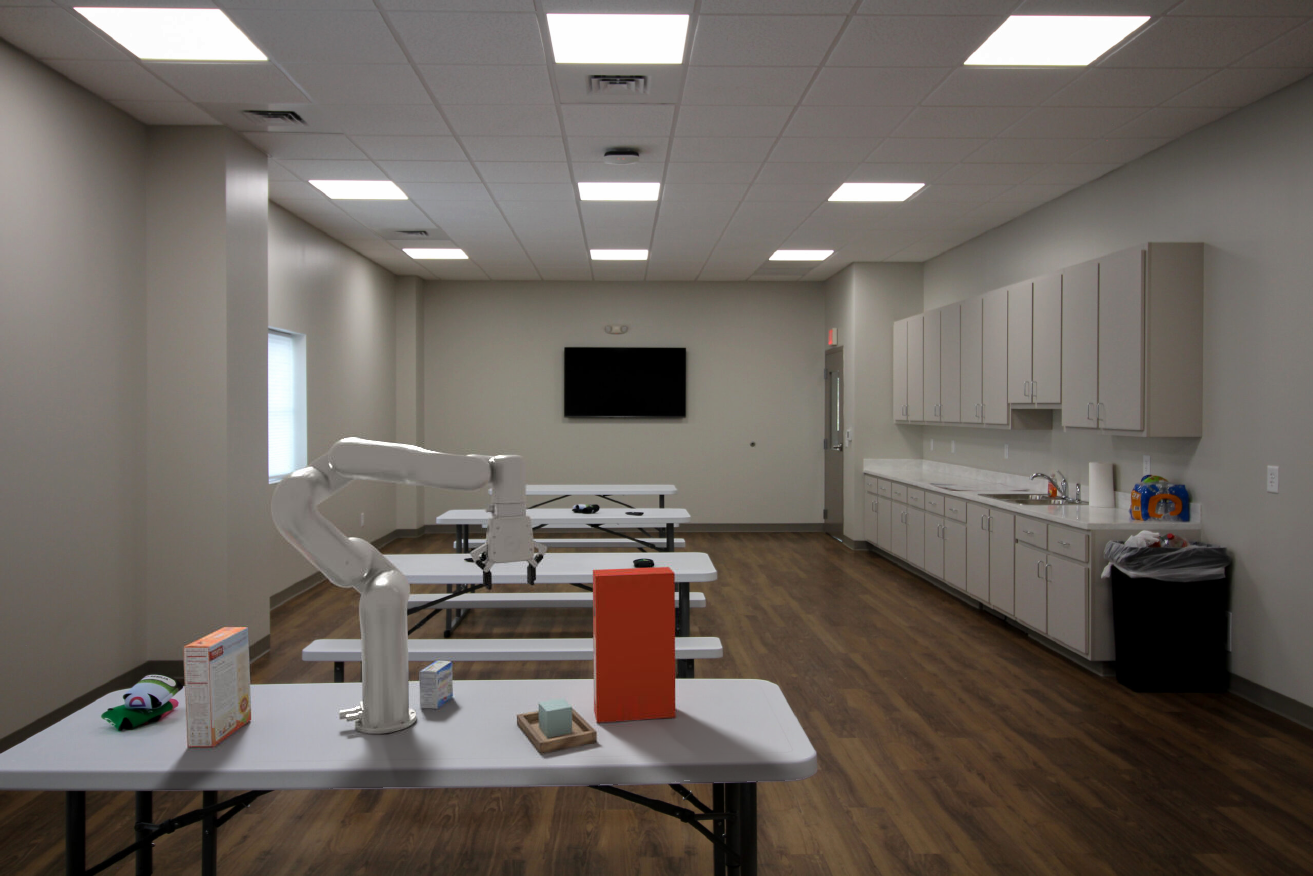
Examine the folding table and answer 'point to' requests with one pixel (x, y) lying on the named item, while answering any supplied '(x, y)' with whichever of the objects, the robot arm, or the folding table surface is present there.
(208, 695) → the cracker box
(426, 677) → the medicine box
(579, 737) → the walnut tray
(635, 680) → the tall orange-red block
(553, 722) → the teal cube
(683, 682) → the folding table surface
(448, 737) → the folding table surface
